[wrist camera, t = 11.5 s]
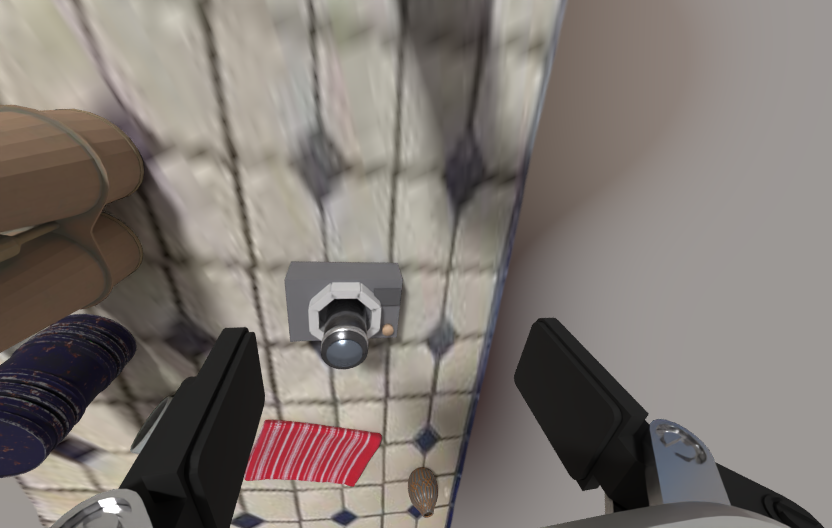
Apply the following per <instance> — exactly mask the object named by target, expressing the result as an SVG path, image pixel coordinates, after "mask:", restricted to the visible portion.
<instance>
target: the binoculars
mask: <svg viewBox="0 0 832 528" xmlns="http://www.w3.org/2000/svg"><path fill="white" fill-rule="evenodd" d="M143 175H144V167H143V161H142V158H141V156H140V154H139V151H138V149H137V148H136V146H135V145H134V144H133V142H132V141H131V139H130V138H129V137H128V136H127V135H126V134H125V133H124V132H123V131H122V130H120V129H119V128H118V127H117V126H115V125H114V124H112V123H111V122H109V121H108V120H106V119H105V118H102V117H100V116H98V115H95V114H93V113H90V112H87V111H82V110H77V109H56V110H47V111H38V110H36V109H32V108H27V107H22V106H17V105H0V353H1V352H2V351H4V350H6V349H8V348H10V347H12V346H13V345H15V344H17V343H19V342H21V341H22V340H24V339H26V338H28V337H30V336H32V335H33V334H35V333H37V332H39V331H41V330H43V329H44V328H46V327H48V326H50V325H52V324H53V323H55V322H57V321H59V320H61V319H63V318H64V317H66V316H68V315H70V314H72V313H73V312H75V311H77V310H79V309H86V308H89V307H92V306H95V305H97V304H98V303H100V302H101V301H103V300H104V299H105V298H107V296H108V295H109V293H110V292H111V290H112V288H113V286H115V285H116V284H117V283H118V282H120V281H121V280H122V279H124V278H125V277H127V276H128V275H130V274H131V273H133V272H134V271H135V270H137V268H138V267H139V265H140V264H141V262H142V257H143V251H142V246H141V244H140V242H139V240H138V238H137V236H136V235H135V234H134V233H133V232H132V230H131V229H130V228H129V227H127V226H126V225H125V224H124V223H122V222H121V221H120V220H118V219H116V218H114V217H112V216H110V215H108V214H106V213H103V212H102V210H103V208H104V206H105V205H106V204H108V203H110V202H113V201H115V200H118V199H121V198H124V197H127V196H129V195H131V194H132V193H133V192H135V191H136V190H137V189H138V188H139V186H140V184H141V183H142V181H143Z"/></svg>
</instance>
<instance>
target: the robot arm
mask: <svg viewBox="0 0 832 528" xmlns="http://www.w3.org/2000/svg"><path fill="white" fill-rule="evenodd" d="M514 381H515V384H516V386H517V388H518V389H519V391H520V392H521V394H522V396H523V398H524V399H525V401H526V403H527V404H528V406H529V408H530V409H531V411H532V413H533V415H534V416H535V418H536V420H537V421H538V423H539V425H540V426H541V428H542V430H543V431H544V433H545V435H546V436H547V438H548V440H549V441H550V443H551V445H552V447H553V448H554V450H555V451H556V453H557V455H558V457H559V458H560V460H561V461H562V463H563V465H564V467H565V468H566V470H567V471H568V473H569V475H570V476H571V477H572V478H573V479H574V480H576V481H577V482H578V484H579V486H580V487H581V489H582V491H585V490H590V489H596V488H598V487H599V485H601V487H602V489H603V490H604V492H605V515H601V516H596V517H591V518H586V519H581V520H577V521H571V522H567V523H562V524H557V525H552V526H547V527H542V528H824V527H823V526H822V525H821V524H820V523H819V522H818V521H817V520H816V519H815V518H814V517H813V516H812V515H811V514H810V513H809V512H807V511H806V510H805V509H803V508H802V507H800V506H799V505H797V504H796V503H794V502H793V501H791V500H789V499H787V498H786V497H784V496H782V495H780V494H778V493H776V492H774V491H772V490H770V489H768V488H766V487H764V486H762V485H760V484H758V483H756V482H754V481H752V480H750V479H748V478H746V477H743V476H742V475H740V474H738V473H736V472H734V471H732V470H730V469H728V468H726V467H724V466H722V465H720V464H718V463H716V462H715V461H714V458H713V456H712V454H711V452H710V450H709V449H708V448H707V447H706V445H705V444H704V443H703V442H702V441H701V440H700V439H699V438H698V437H697V436H695V435H694V434H693V433H692V432H690V431H689V430H687V429H686V428H684V427H682V426H680V425H678V424H676V423H674V422H671V421H668V420H664V419H656V420H653V421H652V422H651V423H650V425H649V424H648V423H647V422H646V421H645V419H646V417H647V416H648V413H647V412H646V411H645V410H644V409H643V407H642V406H641V405H640V404H639V403H638V402H637V401H636V400H635V399H634V398H633V397H632V396H631V395H630V394H629V393H628V392H627V391H626V390H625V389H624V388H623V387H622V386H621V385H620V384H619V383H618V382H617V381H616V380H615V379H614V377H613V376H611V374H610V373H609V372H608V371H607V370H606V369H605V368H604V367H603V366H602V365H601V364H600V363H599V362H598V361H597V360H596V359H595V358H594V357H593V356H592V355H591V354H590V353H589V352H588V351H587V350H586V349H585V348H584V347H583V345H581V343H579V341H578V340H577V339H576V338H575V337H574V336H573V335H572V334H571V333H570V332H569V331H568V330H567V329H566V328H565V327H564V326H563V325H562V324H561V323H560V322H559V321H558V320H557V319H556V318H539V319H538V320H537V321H536V322H535V323H534V324H533V325H532V327H531V330H530V333H529V336H528V338H527V341H526V344H525V347H524V350H523V352H522V355H521V358H520V361H519V363H518V366H517V369H516V372H515V375H514ZM264 402H265V392H264V386H263V380H262V373H261V367H260V361H259V354H258V348H257V342H256V336H255V333H254V332H249V331H248V328H246V327H241V328H225V329H223V331H222V332H221V334H220V336H219V338H218V339H217V341H216V343H215V345H214V347H213V348H212V350H211V352H210V354H209V356H208V357H207V359H206V361H205V363H204V365H203V366H202V368H201V370H200V372H199V373H198V375H197V377H188V378H186V379H185V380H184V381H183V383H182V384H181V385H180V387H179V389H178V390H177V392H176V394H175V395H174V397H173V399H172V400H171V402H170V404H169V405H168V407H167V409H166V410H165V412H164V414H163V415H162V417H161V419H160V420H159V422H158V424H157V425H156V427H155V429H154V430H153V432H152V434H151V435H150V437H149V439H148V440H147V442H146V444H145V445H144V447H143V449H142V450H141V452H140V454H139V455H138V457H137V459H136V460H135V462H134V464H133V465H132V467H131V469H130V470H129V472H128V474H127V475H126V477H125V479H124V480H123V482H122V484H121V485H120V487H119V489H113V490H110V491H106V492H103V493H100V494H97V495H95V496H93V497H91V498H89V499H87V500H85V501H83V502H81V503H80V504H78V505H77V506H75V507H74V508H72V509H71V510H70V511H68V512H67V513H65V514H64V515H63V516H62V517H61V518H60V519H58V520H57V521H56V522H55V523H54V524H53V525H52V526H51V527H50V528H230V524H231V521H232V517H233V514H234V510H235V506H236V503H237V499H238V496H239V492H240V489H241V485H242V482H243V478H244V475H245V471H246V467H247V464H248V460H249V457H250V453H251V450H252V446H253V443H254V439H255V436H256V432H257V429H258V425H259V421H260V418H261V414H262V411H263V407H264Z"/></svg>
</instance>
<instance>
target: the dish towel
mask: <svg viewBox="0 0 832 528" xmlns="http://www.w3.org/2000/svg"><path fill="white" fill-rule="evenodd" d="M381 439H382V436H381V435H380V433H372V432H367V431H361V430H353V429H346V428H340V427H334V426H324V425H318V424H311V423H302V422H294V421H282V420H265V421H264V425H263V427H262V429H261V431H260V433H259V436H258V438H257V440H256V442H255V445H254V447H253V449H252V451H251V453H250V457H249V460H248V464H247V467H246V471H245V477H244V478H245V480H246V481H253V480H265V479H271V480H272V479H281V480H301V481H310V482H312V481H314V482H330V483H337V484H346V485H348V486H354V485H355V483H356V482H357V480H358V479H359V477H360V476H361V474H362V472H363V470H364V469H365V467H366V465H367V463H368V462H369V460H370V458H371V457H372V456H373V454H374V453H375V452H376V450H377V449H378V447H379V445H380V442H381Z"/></svg>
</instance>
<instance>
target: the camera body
mask: <svg viewBox="0 0 832 528" xmlns="http://www.w3.org/2000/svg"><path fill="white" fill-rule="evenodd" d="M402 282H403V279H402V276H401V272H400V269H399V266H398V263H361V262H291V263H290V266H289V269H288V271H287V274H286V277H285V291H286V301H287V312H288V323H289V333H290V342H292V341H316V340H321V341H322V338H323V335H324V328H325V320H326V313H327V307H328V305H329V303H330V302H331V301H332V300H334V299H354V298H357V299H358V300H360V301H361V302H362V303H363V304H364V305H365V309H366V326H367V338H368V339H369V338H387V337H397V328H398V319H399V310H400V301H401V291H402Z"/></svg>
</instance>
